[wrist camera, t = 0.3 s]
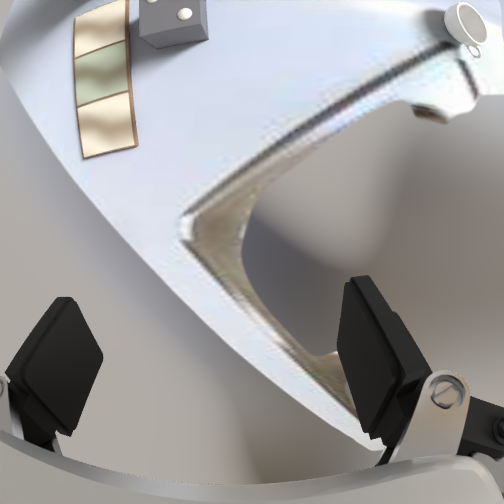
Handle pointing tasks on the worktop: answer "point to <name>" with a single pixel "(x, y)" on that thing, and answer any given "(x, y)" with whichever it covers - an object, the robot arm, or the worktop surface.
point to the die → (172, 22)
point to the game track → (104, 79)
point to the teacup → (466, 26)
